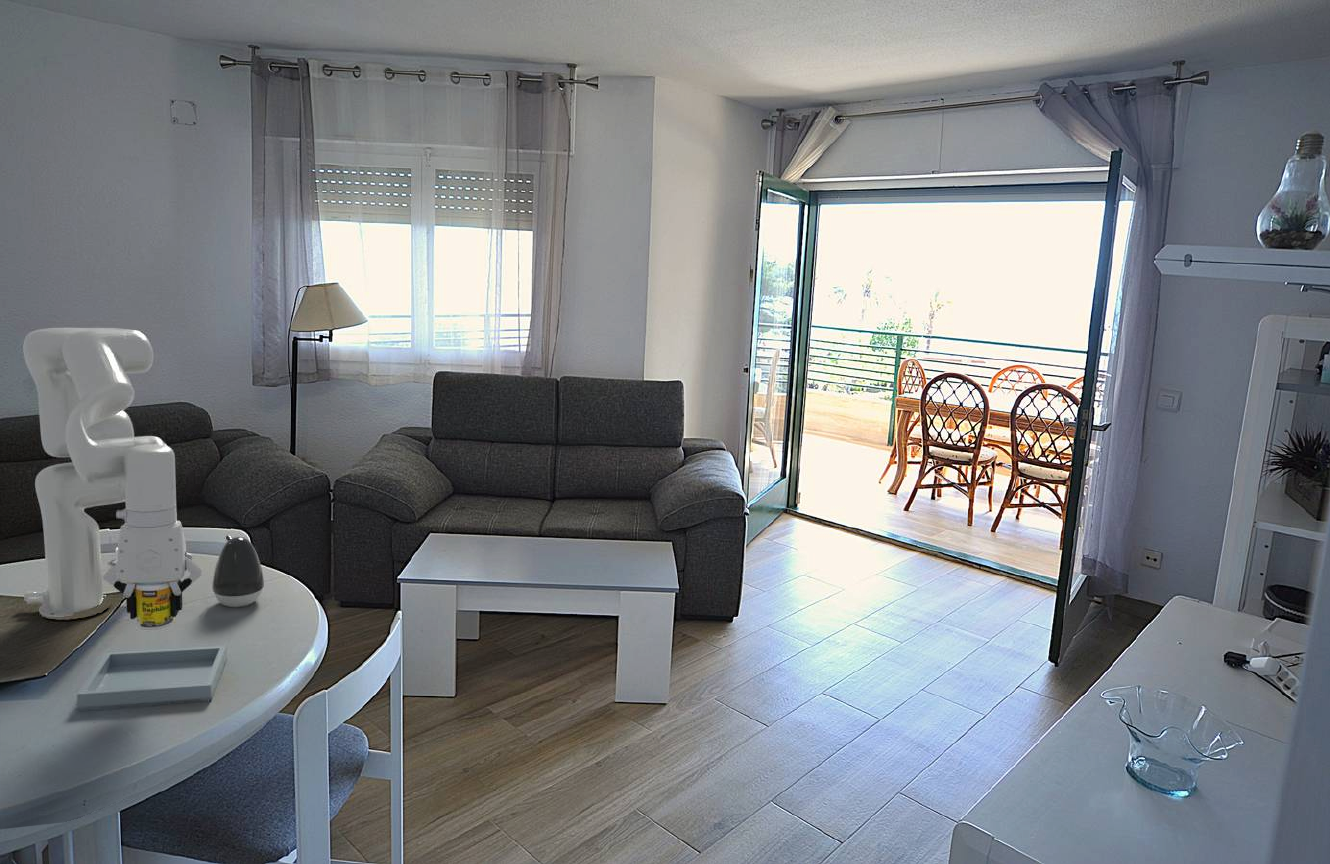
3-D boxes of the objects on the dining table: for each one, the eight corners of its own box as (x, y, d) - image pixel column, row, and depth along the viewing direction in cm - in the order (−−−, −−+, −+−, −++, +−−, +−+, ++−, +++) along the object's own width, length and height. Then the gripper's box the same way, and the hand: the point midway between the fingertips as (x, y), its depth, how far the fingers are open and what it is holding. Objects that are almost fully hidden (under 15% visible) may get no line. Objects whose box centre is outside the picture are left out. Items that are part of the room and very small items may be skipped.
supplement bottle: (137, 633, 148) (135, 577, 146) (136, 621, 153) (134, 566, 151) (175, 628, 151) (173, 573, 150) (172, 616, 156) (170, 563, 154)
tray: (78, 710, 144) (77, 694, 143) (106, 667, 159) (105, 652, 158) (211, 700, 150) (211, 685, 149) (226, 660, 165) (226, 645, 164)
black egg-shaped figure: (251, 590, 198) (250, 527, 196) (272, 604, 192) (271, 539, 189) (204, 600, 191) (203, 535, 188) (224, 615, 184) (223, 547, 181)
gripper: (87, 523, 142) (92, 626, 146) (203, 521, 148) (205, 620, 151) (100, 511, 149) (105, 609, 153) (211, 509, 155) (213, 604, 158)
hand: (155, 614), depth 152 cm, fingers closed on supplement bottle, 5 cm apart
